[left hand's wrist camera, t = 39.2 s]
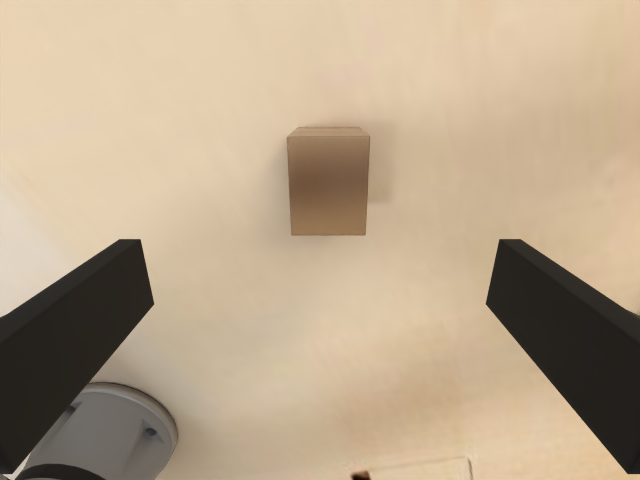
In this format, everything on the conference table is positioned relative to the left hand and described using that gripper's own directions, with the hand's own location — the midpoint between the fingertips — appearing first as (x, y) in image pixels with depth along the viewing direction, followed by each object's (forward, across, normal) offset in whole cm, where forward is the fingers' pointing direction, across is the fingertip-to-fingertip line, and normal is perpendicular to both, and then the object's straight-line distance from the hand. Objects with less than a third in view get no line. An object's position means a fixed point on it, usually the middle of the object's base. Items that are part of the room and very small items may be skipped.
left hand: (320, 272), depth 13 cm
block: (+19, -1, -1) cm, 19 cm away
